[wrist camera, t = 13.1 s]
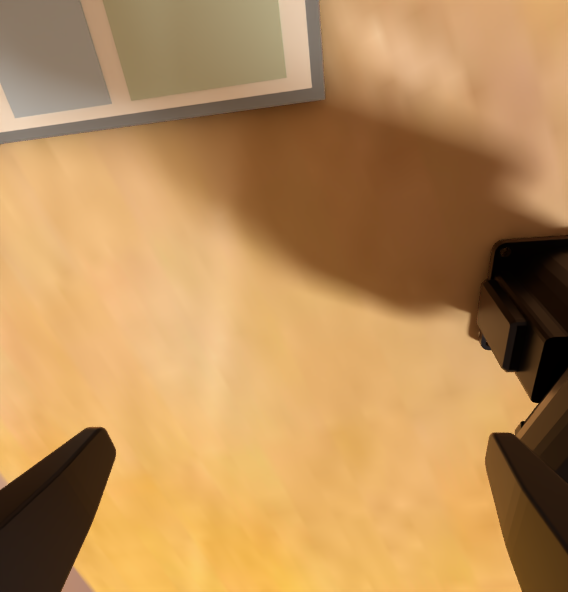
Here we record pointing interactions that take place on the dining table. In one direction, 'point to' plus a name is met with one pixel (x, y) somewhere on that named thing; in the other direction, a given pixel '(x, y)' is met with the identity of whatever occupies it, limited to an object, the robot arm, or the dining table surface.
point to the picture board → (151, 61)
